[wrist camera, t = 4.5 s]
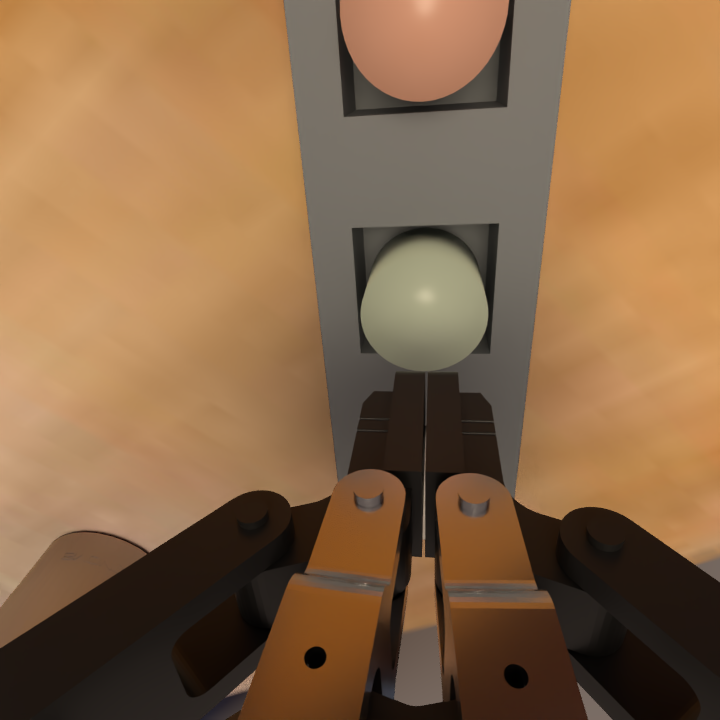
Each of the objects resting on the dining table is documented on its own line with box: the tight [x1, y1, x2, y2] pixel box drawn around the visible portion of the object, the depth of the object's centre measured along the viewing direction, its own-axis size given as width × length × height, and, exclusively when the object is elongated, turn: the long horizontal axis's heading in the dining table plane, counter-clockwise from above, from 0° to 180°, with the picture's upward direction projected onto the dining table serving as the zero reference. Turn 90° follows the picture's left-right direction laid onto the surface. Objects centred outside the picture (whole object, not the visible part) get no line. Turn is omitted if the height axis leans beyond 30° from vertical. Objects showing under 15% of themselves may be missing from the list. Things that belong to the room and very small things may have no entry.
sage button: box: [361, 228, 488, 371], centre depth 18 cm, size 4×4×3 cm
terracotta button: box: [340, 0, 509, 102], centre depth 14 cm, size 4×4×3 cm
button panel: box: [284, 0, 571, 498], centre depth 21 cm, size 25×8×4 cm, turn 3°
